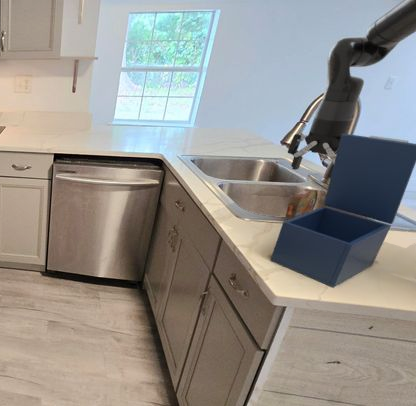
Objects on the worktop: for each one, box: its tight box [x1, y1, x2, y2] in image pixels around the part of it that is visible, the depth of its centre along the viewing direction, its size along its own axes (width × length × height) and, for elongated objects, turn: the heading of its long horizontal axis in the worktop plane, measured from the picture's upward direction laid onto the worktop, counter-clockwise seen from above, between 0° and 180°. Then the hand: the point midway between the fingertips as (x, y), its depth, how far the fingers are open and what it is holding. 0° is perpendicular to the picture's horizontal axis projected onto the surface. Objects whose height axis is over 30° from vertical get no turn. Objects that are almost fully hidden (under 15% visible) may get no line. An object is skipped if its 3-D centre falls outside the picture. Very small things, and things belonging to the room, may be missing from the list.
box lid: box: [323, 133, 416, 225], centre depth 84 cm, size 20×13×6 cm
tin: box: [285, 188, 319, 221], centre depth 110 cm, size 15×3×8 cm, turn 122°
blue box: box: [269, 205, 392, 288], centre depth 87 cm, size 19×13×11 cm
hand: (312, 173), depth 106 cm, fingers open, 8 cm apart
